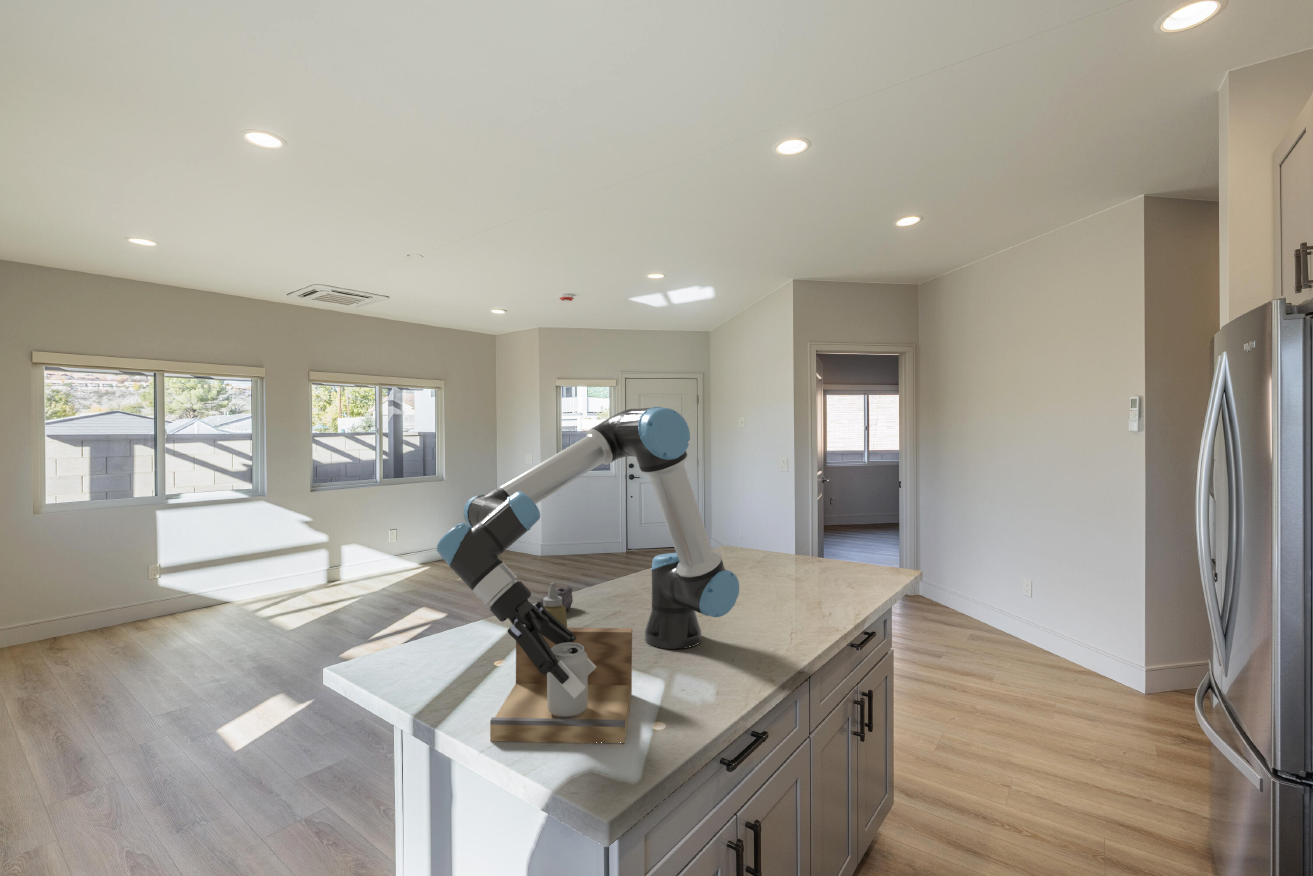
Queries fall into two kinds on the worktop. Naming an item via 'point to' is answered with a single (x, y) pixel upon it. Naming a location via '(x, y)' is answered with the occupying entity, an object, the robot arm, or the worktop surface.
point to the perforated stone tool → (564, 596)
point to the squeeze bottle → (555, 605)
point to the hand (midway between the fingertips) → (585, 682)
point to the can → (557, 695)
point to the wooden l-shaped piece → (606, 695)
